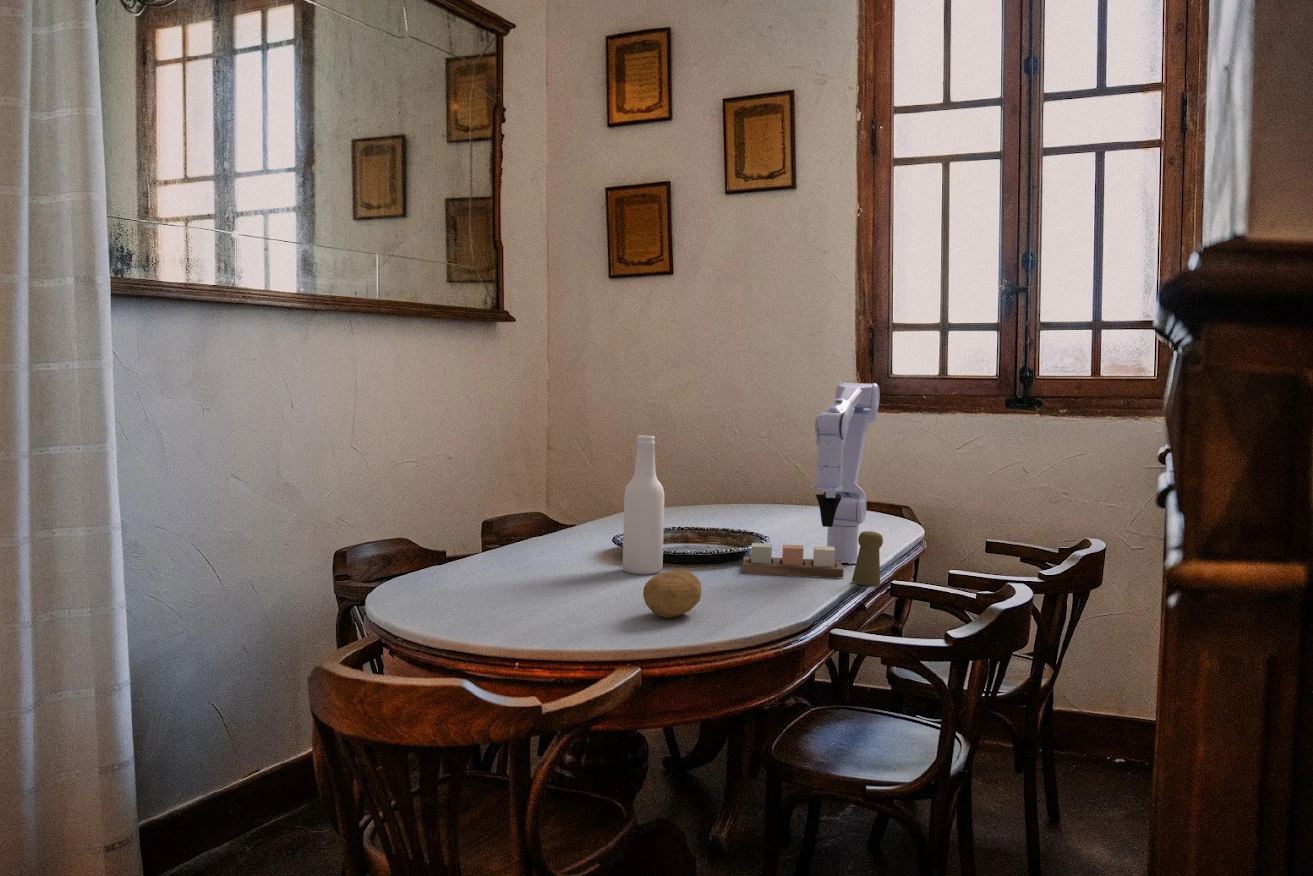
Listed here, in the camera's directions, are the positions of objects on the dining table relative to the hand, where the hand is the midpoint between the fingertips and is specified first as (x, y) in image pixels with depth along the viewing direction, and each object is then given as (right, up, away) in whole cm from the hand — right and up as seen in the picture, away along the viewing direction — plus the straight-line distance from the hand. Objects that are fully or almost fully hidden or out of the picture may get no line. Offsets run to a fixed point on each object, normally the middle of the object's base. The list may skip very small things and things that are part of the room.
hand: (827, 526), depth 231 cm
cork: (+7, -11, -10) cm, 16 cm away
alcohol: (-41, -10, -3) cm, 43 cm away
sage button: (-15, -8, +2) cm, 17 cm away
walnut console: (-8, -10, +1) cm, 13 cm away
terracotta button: (-8, -9, +1) cm, 12 cm away
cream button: (-1, -9, 0) cm, 9 cm away
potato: (-36, -13, -43) cm, 58 cm away
